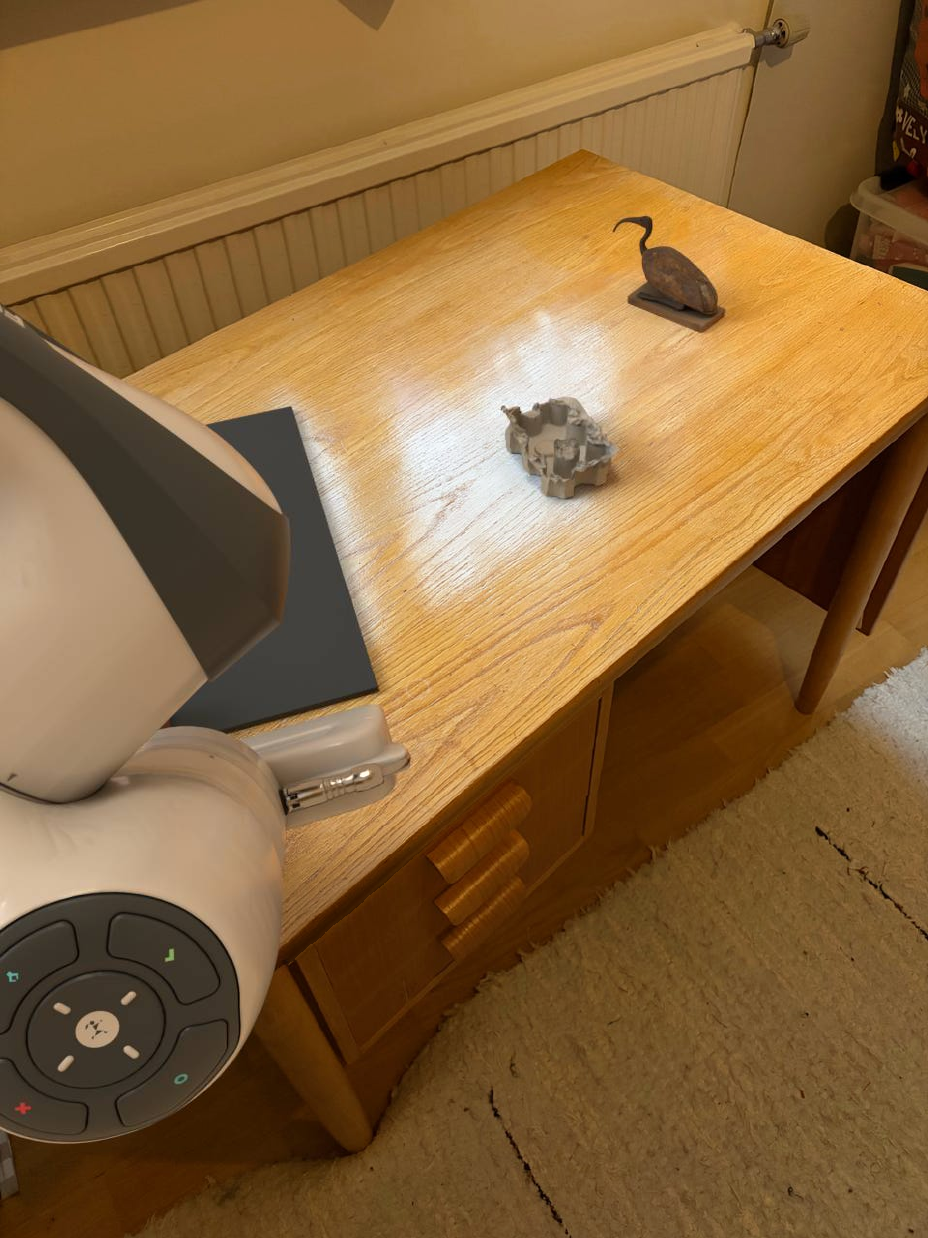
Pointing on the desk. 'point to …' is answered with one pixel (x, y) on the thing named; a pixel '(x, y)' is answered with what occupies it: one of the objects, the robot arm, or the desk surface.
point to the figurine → (673, 285)
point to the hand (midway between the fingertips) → (212, 762)
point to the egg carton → (560, 445)
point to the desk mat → (289, 601)
